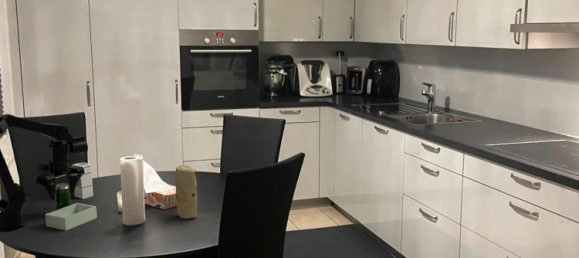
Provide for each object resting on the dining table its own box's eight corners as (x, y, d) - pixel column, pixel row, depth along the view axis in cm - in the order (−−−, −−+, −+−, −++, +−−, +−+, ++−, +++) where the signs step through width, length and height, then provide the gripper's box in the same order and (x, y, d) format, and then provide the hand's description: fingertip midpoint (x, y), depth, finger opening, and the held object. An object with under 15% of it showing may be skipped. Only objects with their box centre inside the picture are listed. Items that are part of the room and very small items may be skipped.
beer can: (73, 212, 218) (71, 183, 216) (69, 217, 213) (67, 186, 210) (58, 212, 217) (56, 183, 215) (54, 217, 212) (52, 187, 210)
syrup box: (93, 196, 239) (91, 163, 237) (82, 199, 234) (80, 166, 232) (85, 194, 242) (83, 161, 240) (73, 197, 237) (71, 164, 235)
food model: (201, 216, 214) (200, 166, 210) (189, 221, 208) (188, 170, 204) (183, 212, 219) (181, 162, 215) (170, 216, 213) (169, 166, 210)
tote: (66, 230, 198) (65, 218, 198) (46, 226, 203) (45, 214, 202) (96, 217, 212) (96, 206, 211) (77, 214, 216) (76, 202, 215)
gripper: (63, 150, 223) (66, 187, 225) (23, 159, 206) (27, 200, 209) (84, 153, 218) (86, 191, 221) (45, 163, 201) (48, 204, 204)
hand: (62, 196), depth 214 cm, fingers open, 9 cm apart
